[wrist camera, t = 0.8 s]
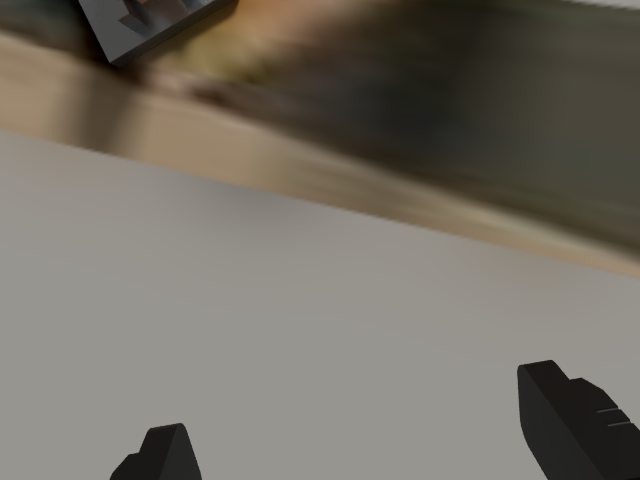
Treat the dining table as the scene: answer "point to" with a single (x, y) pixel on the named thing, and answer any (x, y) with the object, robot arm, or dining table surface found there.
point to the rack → (142, 23)
